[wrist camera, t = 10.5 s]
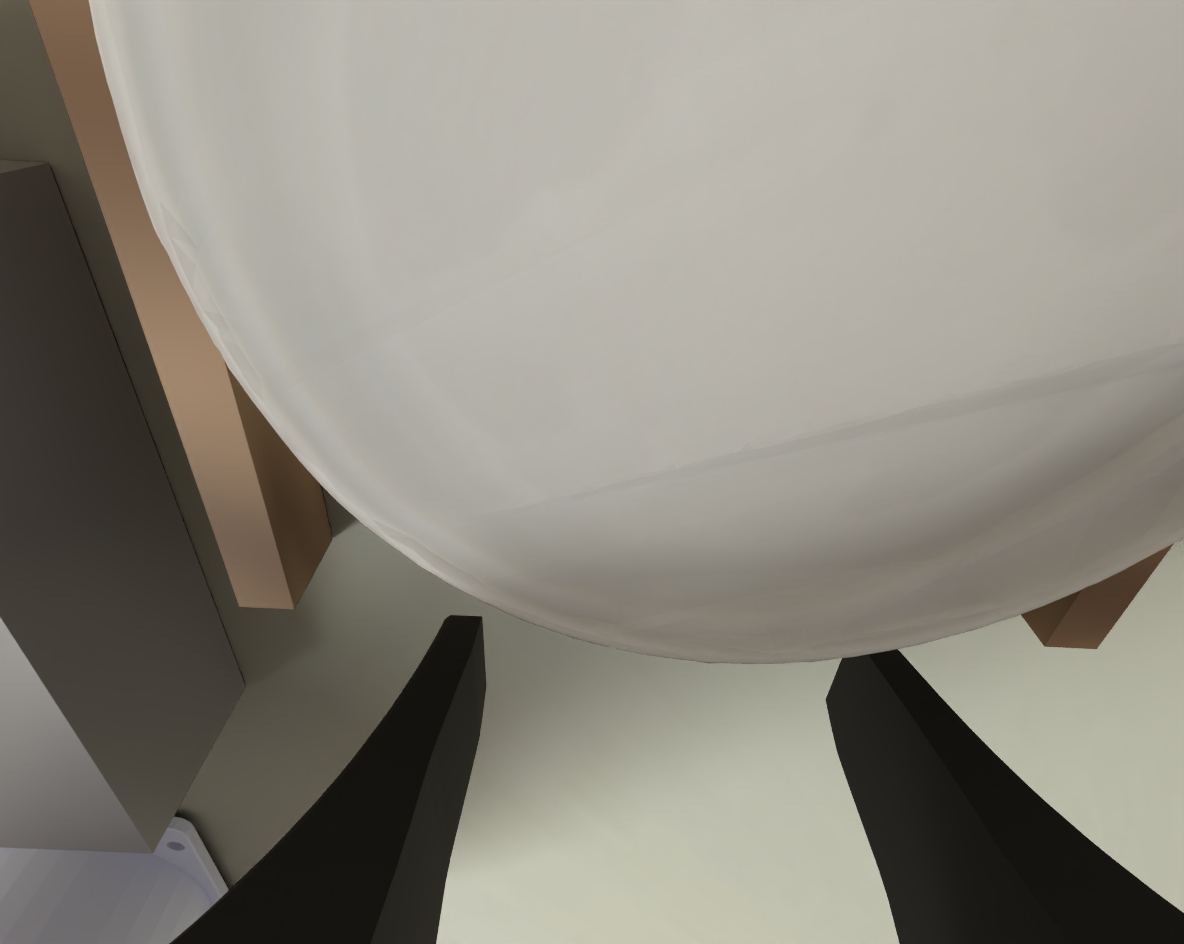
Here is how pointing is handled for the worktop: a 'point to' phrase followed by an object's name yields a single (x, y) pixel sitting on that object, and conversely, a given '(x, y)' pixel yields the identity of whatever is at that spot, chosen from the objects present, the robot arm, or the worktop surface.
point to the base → (89, 566)
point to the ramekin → (694, 294)
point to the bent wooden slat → (237, 427)
